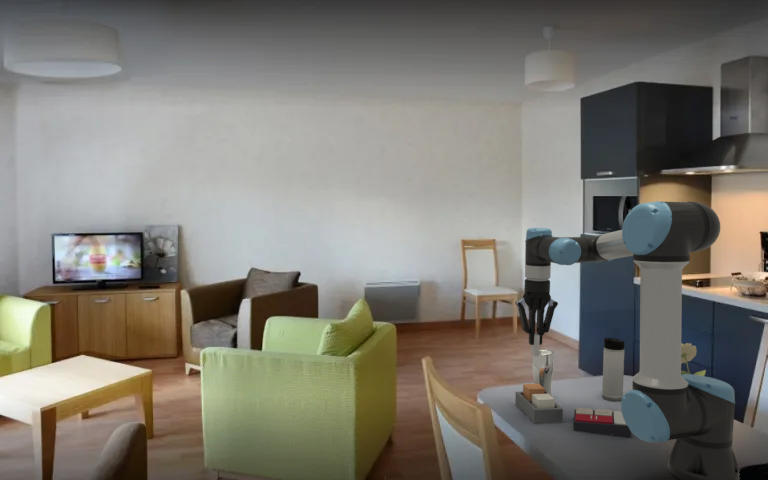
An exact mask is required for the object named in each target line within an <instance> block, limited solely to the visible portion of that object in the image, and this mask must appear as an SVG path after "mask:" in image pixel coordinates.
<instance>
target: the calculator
mask: <svg viewBox="0 0 768 480" xmlns="http://www.w3.org/2000/svg"><path fill="white" fill-rule="evenodd" d="M572 423H573V425H572V426H573V431H574V432H580V433H585V434H586V433H589V434H595V435H607V436H608V435H609V436H614V437H616V438H617V437H619V438H625V439H631V438H632V432H631V430H630V429H629V427H628V426H627V425H626V423H625V421H624V418H623V415H622V411H621V410H620V411H618V410H611V409H601V408H597V409H596V408H595V409H593V408H585V407H584V408H582V407H576V408H574V414H573V422H572Z"/></svg>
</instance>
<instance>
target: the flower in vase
mask: <svg viewBox="0 0 768 480" xmlns="http://www.w3.org/2000/svg"><path fill="white" fill-rule="evenodd" d="M697 353H698V350H697V346H696V345H692V343H689V342H687V343H685V344H684V343H682V342H681V365H682V364H686V368H687V371H685V370H681V375H683V374H691V371H690V369H689V364H688V362H691V361H692V360H693V359H694V358H695V357H696V356H697ZM706 371H707V370H706V369H704V370H701V371H700V370H699V371H697V372H695V373H694V374H693V375H700V376H705V375H706Z"/></svg>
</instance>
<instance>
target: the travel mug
mask: <svg viewBox="0 0 768 480" xmlns="http://www.w3.org/2000/svg"><path fill="white" fill-rule="evenodd" d="M603 344H604V345H603V359H602V360H603V361H602V363H603V364H602V389H601V391H602V393H601V394H602V395H601V396H602V398H603V399H604V400H606V401H611V402H621V400H622V397H623V396H624V395H623V394H624V373H625V371H624V370H625V340H620V339H619V338H614V337H604V338H603Z"/></svg>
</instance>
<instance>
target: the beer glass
mask: <svg viewBox="0 0 768 480" xmlns="http://www.w3.org/2000/svg"><path fill="white" fill-rule="evenodd" d="M531 362H532V364H531V365H532V367H531V368H532V369H531V370H532V376H533V381H534V383H533V384H540V385H541V386H542V387H543V388H545V394H549V395H550V396H552V397H553V393H552V383H553V382H552V381H553V377H554V371H555V351H552V350H549V349H539V356H533V355H532V361H531Z"/></svg>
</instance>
